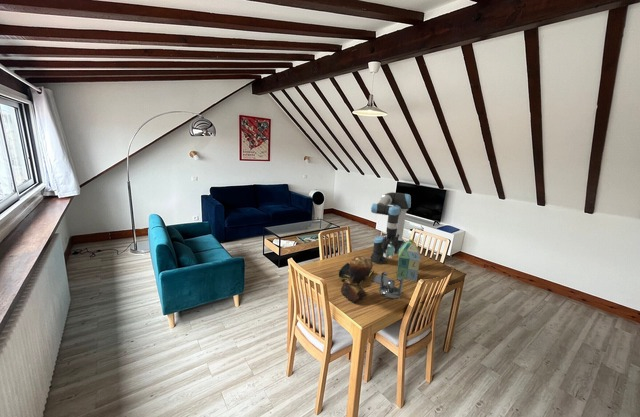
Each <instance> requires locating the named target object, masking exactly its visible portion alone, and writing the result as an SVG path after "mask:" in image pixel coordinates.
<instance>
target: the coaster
mask: <svg viewBox="0 0 640 417" xmlns="http://www.w3.org/2000/svg"><path fill="white" fill-rule="evenodd" d="M381 276H382V274H377V275H375V276H374V277H373V278H371V279H370V281H371V282H373V283H376V284H377V285H380V284H381ZM389 280H393V281H394V279H393V278H389V277H387V276H384V284H383V286H384V285H388V281H389Z"/></svg>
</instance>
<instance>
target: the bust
mask: <svg viewBox="0 0 640 417" xmlns="http://www.w3.org/2000/svg"><path fill="white" fill-rule="evenodd" d="M373 263H374V262H372V261H371V260H370V258H369V257H367V256H364V255H357V256H354V257H353V258H351V260H350V262H349V266H348V268H349V270H350V273H351V275H350V277H349V279H344V281H343V283H342V286H341V288H340V292H341V295H342V296H343V297H344V298H345V299H346V300H347V301H349V302H350V303H353V304H356V303H358V302H359V301H361V300H364V299H365V297H366V296H367V292H366V291H365V290H364V289H363V287H362V286H361V283H362V282H365V281H367V279H368V278H369V277H368V276H369V274H370V272H371V271H372V269H373V266H374V264H373Z"/></svg>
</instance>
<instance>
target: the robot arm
mask: <svg viewBox="0 0 640 417" xmlns="http://www.w3.org/2000/svg"><path fill="white" fill-rule="evenodd" d="M411 197H412V196H411V195H410V194H408V193H402V192H393V191H392V192H387V193H384V194H383V195H382V196H381V198H380V200H379V201H378V202H377V203H372V205H371V206H370V213H372V214H375V215H376V214H377V215H384V216H388V217H387V223H386V234H385V235H378V236H376V237H374V240H373V250H372V252H371V256H370V258H369V259H370V260H371V261H372V263H374V264H378V265H385V264H386V263H387V262H388V256H387V246H388V244H390V245H393V246H394V253H393V256H392V257H394V256H395V255H399V249H400V248H401V247H402V246H403V245H404V244H405V243H406V241H404V238H403V235H404V228H405V221H406V216H407V215H406V214H407V211H409V209H410V208H411V204H412V202H411V201H412V198H411Z"/></svg>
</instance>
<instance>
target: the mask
mask: <svg viewBox="0 0 640 417" xmlns="http://www.w3.org/2000/svg"><path fill="white" fill-rule="evenodd" d="M349 264H350V262H347V263H345V264H344V265H342V266H341V267H340V269H339V270H338V274H337V277H338V279H340V280H347V279H349V277H350V275H351V273H350V270H349V268H348V266H349ZM374 272H375V269H373V270H372V269H371V272H370V274H369V276H368V278H370V277H371V276H372V274H373V273H374Z"/></svg>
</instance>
